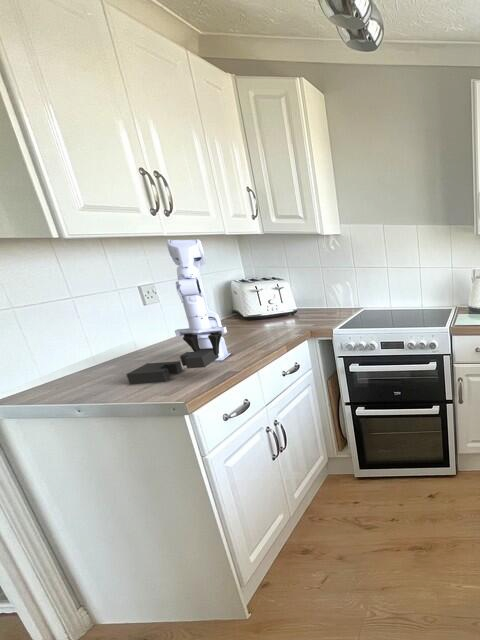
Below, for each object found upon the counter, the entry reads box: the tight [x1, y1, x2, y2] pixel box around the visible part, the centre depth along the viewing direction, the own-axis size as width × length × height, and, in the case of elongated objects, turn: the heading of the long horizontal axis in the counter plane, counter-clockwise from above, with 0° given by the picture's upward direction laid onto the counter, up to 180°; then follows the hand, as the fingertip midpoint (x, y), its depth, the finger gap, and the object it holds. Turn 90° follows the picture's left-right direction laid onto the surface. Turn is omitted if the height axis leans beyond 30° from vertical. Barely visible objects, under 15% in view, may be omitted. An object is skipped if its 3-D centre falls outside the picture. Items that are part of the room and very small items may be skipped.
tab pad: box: [179, 348, 219, 370], centre depth 139 cm, size 12×8×4 cm, turn 15°
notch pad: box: [126, 360, 184, 385], centre depth 140 cm, size 12×10×4 cm
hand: (207, 354), depth 143 cm, fingers closed on tab pad, 5 cm apart
